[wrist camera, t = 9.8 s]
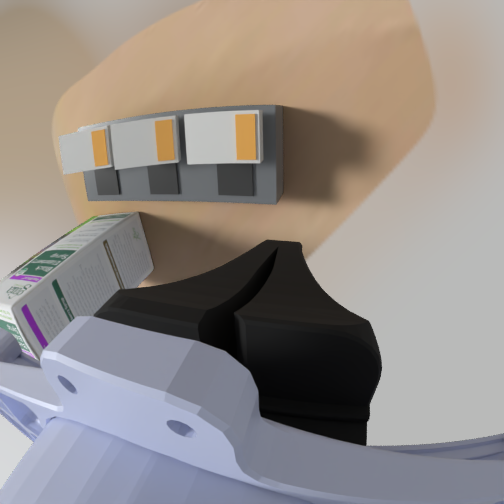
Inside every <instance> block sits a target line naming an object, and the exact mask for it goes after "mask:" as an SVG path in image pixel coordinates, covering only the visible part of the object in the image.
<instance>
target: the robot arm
mask: <svg viewBox="0 0 504 504" xmlns="http://www.w3.org/2000/svg"><path fill="white" fill-rule="evenodd" d="M381 371H382V362H381V355H380V351H379V347H378V344H377V340H376V337H375V335H374V332H373V329H372V327H371V324H370V322H369V321H368V320H366V319H364V318H362V317H360V316H358V315H356V314H354V313H352V312H350V311H349V310H347V309H346V308H344V307H343V306H341V305H340V304H338V303H337V302H336V301H334V300H333V299H332V298H331V297H330V296H329V295H328V294H327V293H326V292H325V291H324V290H323V289H322V288H321V287H320V285H319V284H318V283H317V281H316V280H315V278H314V277H313V275H312V273H311V272H310V270H309V268H308V266H307V264H306V261H305V259H304V256H303V253H302V245H301V243H300V242H291V241H278V240H266V241H264V242H262V243H260V244H259V245H257V246H256V247H254V248H253V249H251V250H249V251H248V252H246V253H244V254H243V255H241V256H239V257H238V258H236V259H234V260H232V261H230V262H228V263H226V264H225V265H223V266H220V267H218V268H216V269H214V270H211V271H209V272H206V273H204V274H201V275H198V276H194V277H191V278H188V279H184V280H181V281H177V282H173V283H168V284H163V285H157V286H151V287H142V288H131V289H119V290H118V291H117V292H116V293H115V294H114V295H113V296H112V297H111V298H110V299H109V300H108V301H107V302H106V303H105V304H104V305H103V306H102V307H101V308H100V309H99V310H98V311H97V312H96V313H95V314H94V316H78V317H76V318H74V319H73V320H72V321H71V322H70V323H69V324H68V325H67V326H66V327H65V328H64V329H63V330H62V331H61V332H60V333H59V334H58V335H57V336H56V337H55V338H54V339H53V340H52V342H51V343H50V344H49V345H48V346H47V347H46V348H45V349H44V350H43V352H42V355H41V357H40V361H38V360H37V359H35V358H33V357H31V356H29V355H27V354H26V353H24V352H22V349H21V347H20V345H19V343H18V341H17V340H16V338H15V337H14V336H13V335H12V334H11V333H10V332H8V331H6V330H4V329H3V328H1V327H0V414H1V415H3V416H4V417H5V418H6V419H7V420H8V421H9V422H11V423H12V424H13V425H14V426H15V427H16V428H18V429H19V430H20V431H21V432H22V433H23V434H24V435H26V436H27V437H28V438H29V439H31V440H32V441H33V442H34V443H33V444H32V446H31V447H30V448H29V450H28V451H27V452H26V454H25V455H24V456H23V458H22V459H21V461H20V462H19V464H18V465H17V466H16V468H15V469H14V471H13V472H12V474H11V475H10V476H9V478H8V479H7V481H6V482H5V484H4V485H3V487H2V489H1V490H0V504H504V433H503V434H498V435H493V436H488V437H483V438H476V439H470V440H462V441H454V442H446V443H436V444H424V445H423V444H422V445H404V446H403V445H401V446H366V440H367V421H368V420H369V416H370V402H371V400H372V397H373V395H374V393H375V390H376V388H377V385H378V383H379V380H380V377H381Z"/></svg>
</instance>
